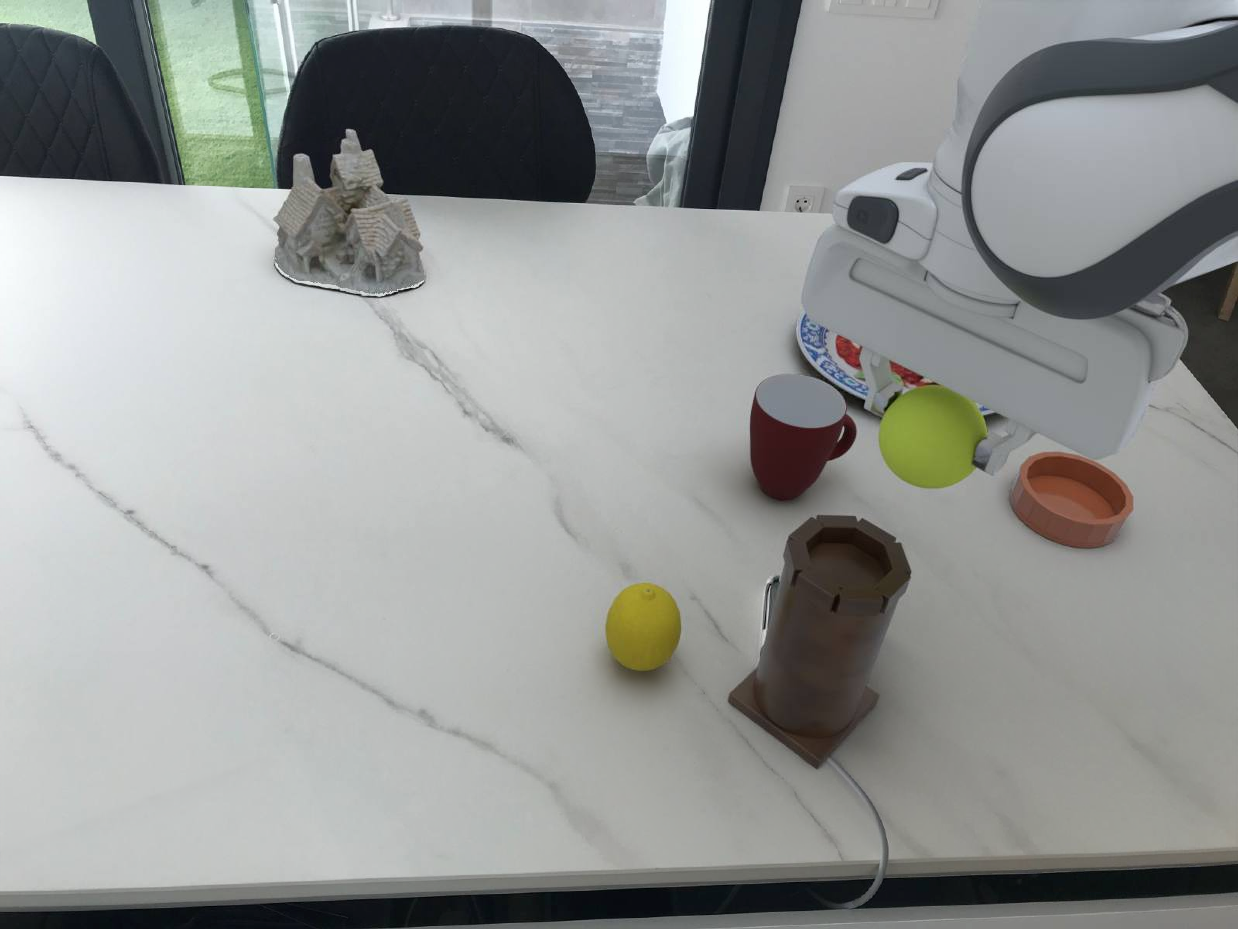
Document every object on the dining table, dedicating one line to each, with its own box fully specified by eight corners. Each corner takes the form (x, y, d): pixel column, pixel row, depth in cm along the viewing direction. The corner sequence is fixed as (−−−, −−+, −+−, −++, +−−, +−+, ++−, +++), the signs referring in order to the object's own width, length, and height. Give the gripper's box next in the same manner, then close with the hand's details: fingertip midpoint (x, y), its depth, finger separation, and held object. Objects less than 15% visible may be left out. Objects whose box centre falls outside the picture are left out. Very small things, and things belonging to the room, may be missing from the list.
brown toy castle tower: (877, 703, 73) (934, 557, 63) (817, 769, 68) (869, 623, 58) (789, 642, 77) (830, 496, 67) (727, 701, 72) (761, 553, 62)
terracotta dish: (1136, 511, 92) (1150, 488, 90) (1095, 565, 86) (1108, 541, 84) (1036, 461, 97) (1047, 437, 95) (990, 508, 91) (1001, 484, 89)
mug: (812, 444, 96) (834, 360, 90) (862, 495, 91) (889, 410, 84) (721, 470, 92) (737, 384, 86) (767, 525, 87) (788, 437, 80)
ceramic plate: (904, 282, 123) (910, 261, 121) (1075, 390, 107) (1086, 367, 105) (746, 333, 111) (750, 311, 109) (911, 462, 95) (920, 438, 93)
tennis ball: (987, 478, 63) (1020, 397, 59) (938, 525, 59) (969, 442, 55) (900, 432, 66) (926, 352, 62) (848, 473, 62) (872, 391, 58)
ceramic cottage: (265, 246, 118) (251, 127, 108) (398, 231, 125) (396, 117, 115) (296, 318, 108) (284, 194, 98) (439, 297, 115) (441, 179, 105)
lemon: (678, 691, 72) (691, 620, 67) (604, 692, 72) (611, 620, 67) (670, 633, 77) (682, 562, 71) (600, 634, 76) (606, 562, 71)
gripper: (1225, 289, 48) (1114, 497, 57) (871, 155, 58) (824, 350, 67) (1180, 334, 44) (1070, 549, 53) (811, 183, 55) (769, 385, 63)
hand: (930, 437), depth 60 cm, fingers closed on tennis ball, 6 cm apart
